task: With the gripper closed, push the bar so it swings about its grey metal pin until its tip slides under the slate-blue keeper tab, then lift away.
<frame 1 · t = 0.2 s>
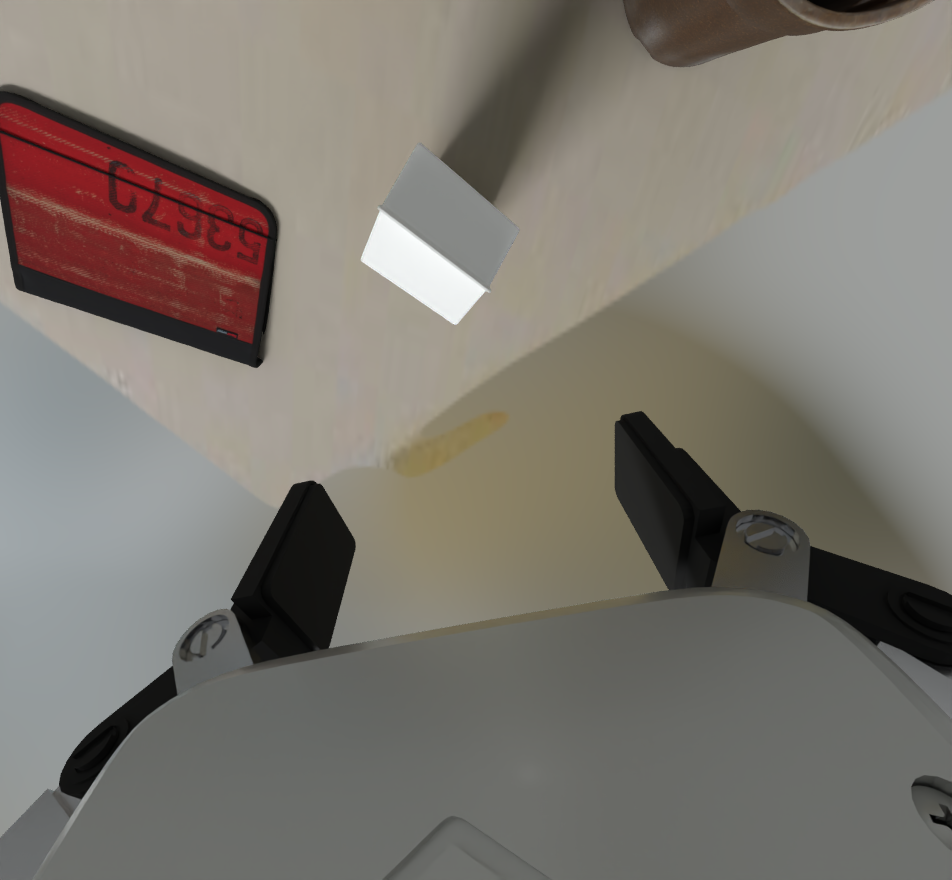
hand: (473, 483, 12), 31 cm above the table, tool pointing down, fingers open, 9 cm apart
milk: (444, 222, 34), on the table
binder: (156, 248, 35), on the table
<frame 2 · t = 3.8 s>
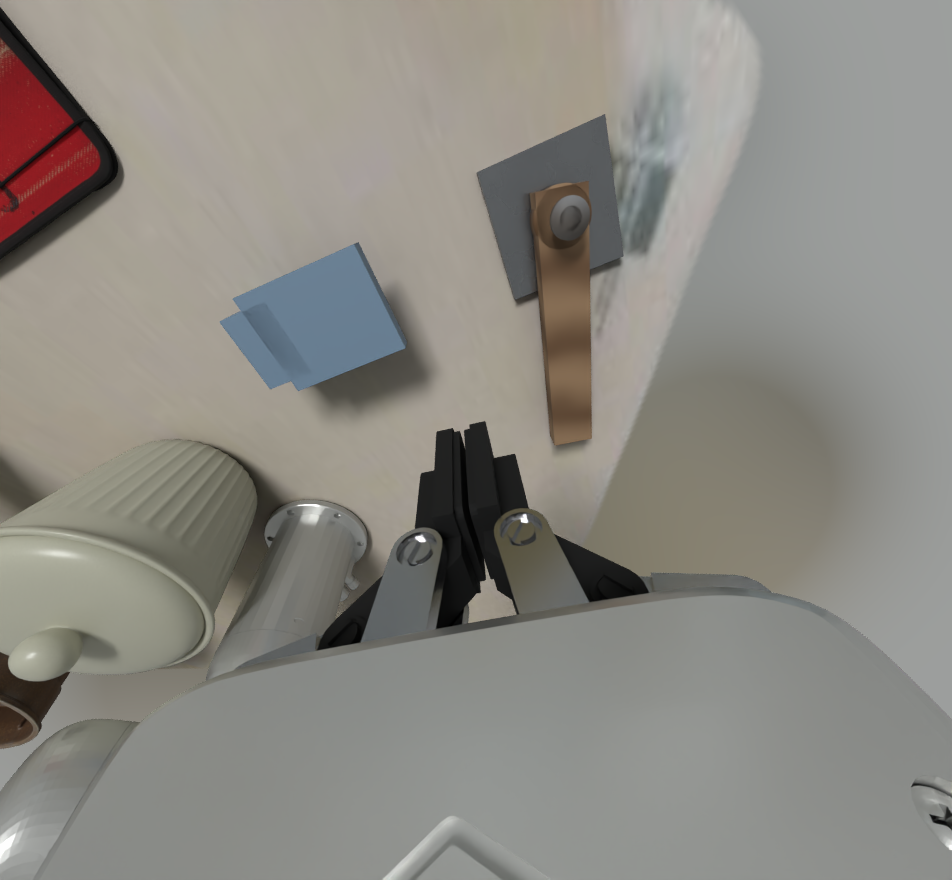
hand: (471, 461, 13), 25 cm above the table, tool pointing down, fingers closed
latch bar: (568, 336, 33), point 3 cm above the table, hinge at 80.0°
plant pot: (74, 579, 50), on the table
keeper: (293, 327, 34), on the table
pintle base: (552, 216, 31), on the table
canister: (202, 479, 43), on the table
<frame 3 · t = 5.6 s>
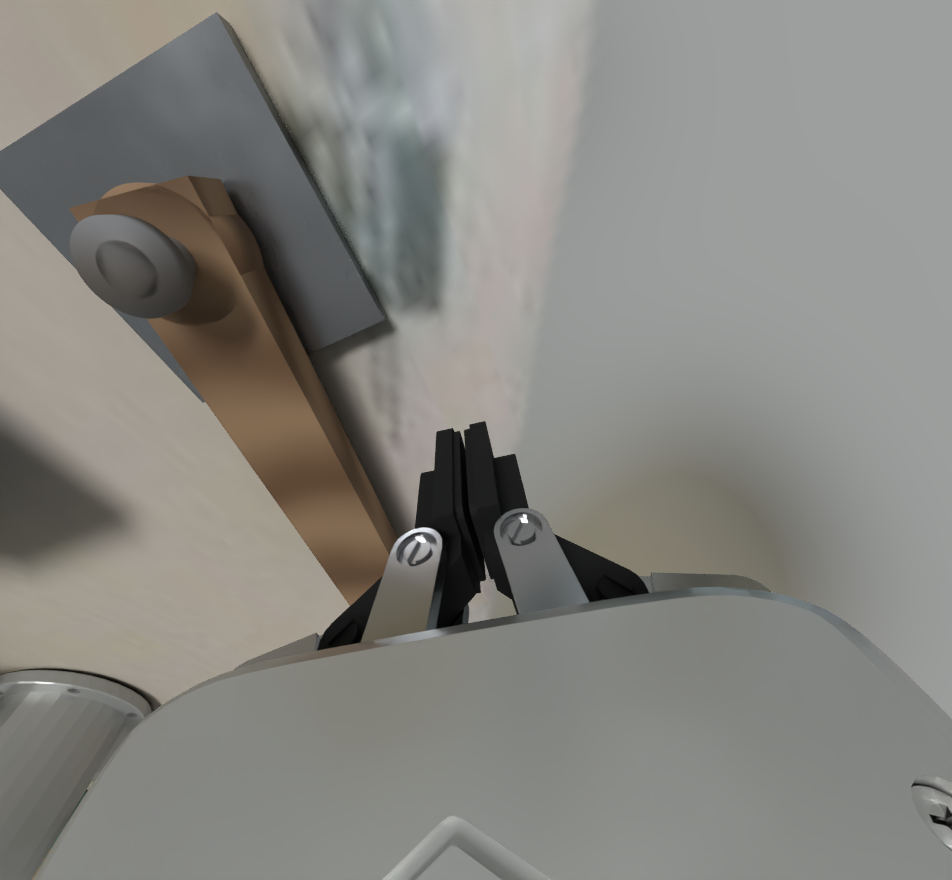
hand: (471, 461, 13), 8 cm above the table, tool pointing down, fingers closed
latch bar: (301, 470, 18), point 3 cm above the table, hinge at 80.0°
pintle base: (218, 250, 15), on the table
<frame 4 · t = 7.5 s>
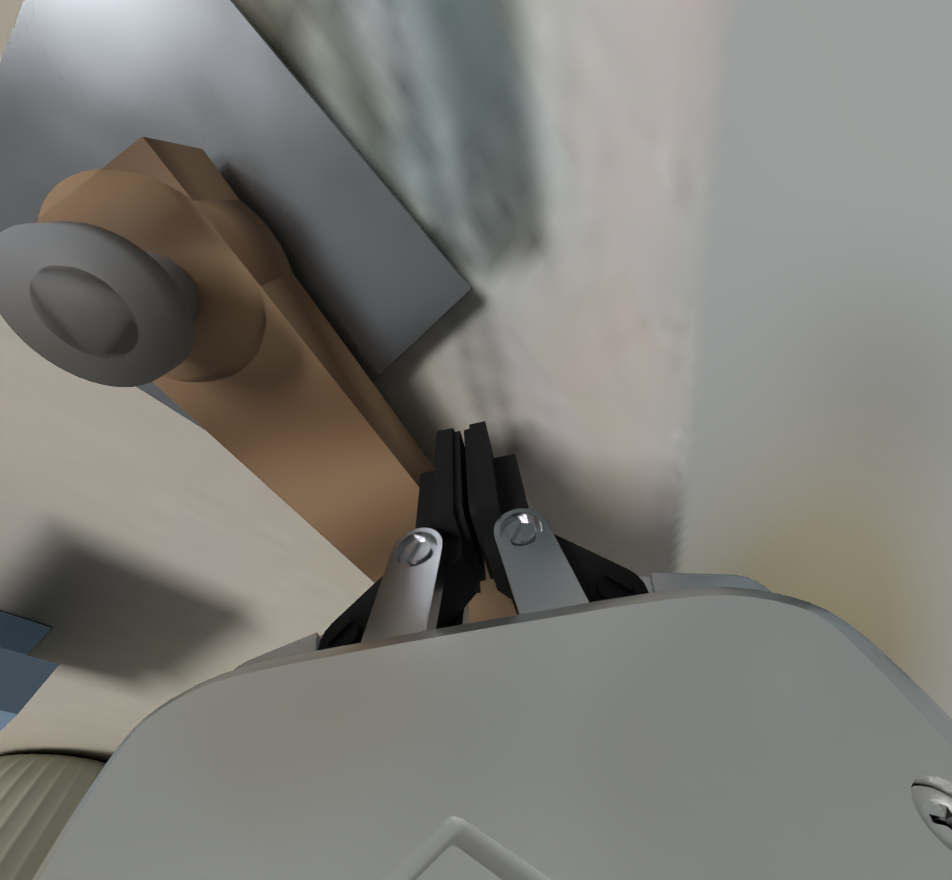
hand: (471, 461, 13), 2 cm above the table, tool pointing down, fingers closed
latch bar: (395, 538, 13), point 3 cm above the table, hinge at 75.4°, touching gripper
pintle base: (231, 268, 11), on the table
canister: (66, 771, 30), on the table
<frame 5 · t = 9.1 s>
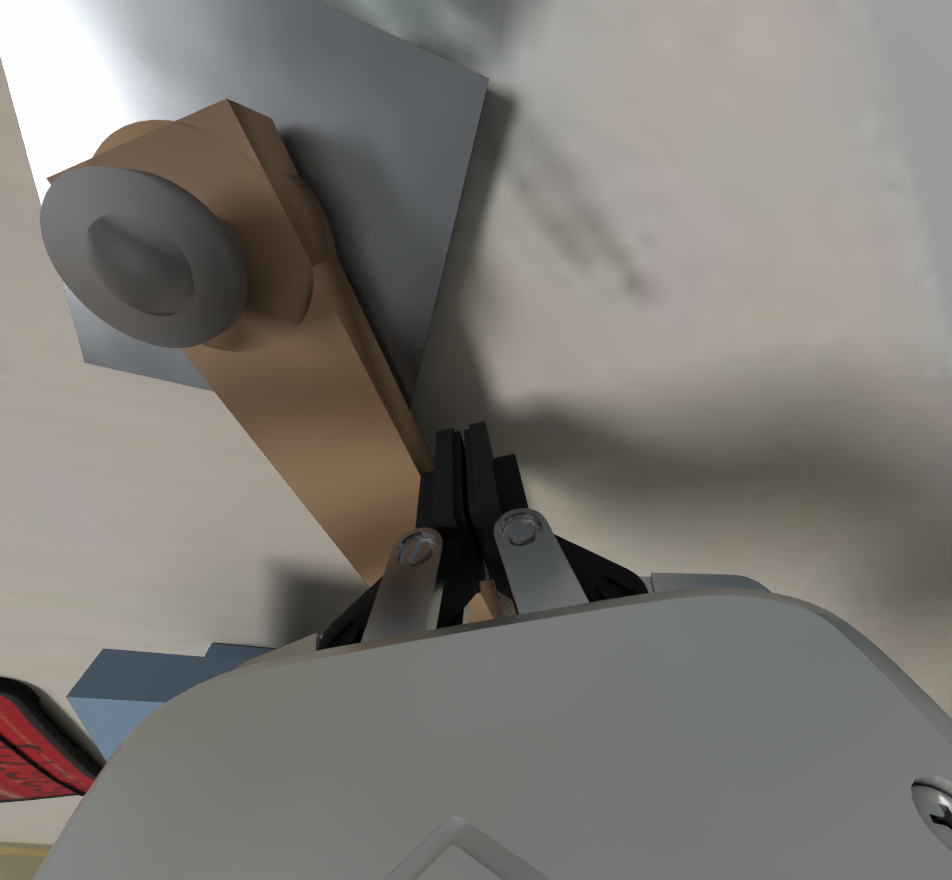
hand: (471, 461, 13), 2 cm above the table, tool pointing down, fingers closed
latch bar: (390, 532, 13), point 3 cm above the table, hinge at 34.4°, touching gripper
keeper: (265, 664, 23), on the table
pintle base: (268, 239, 11), on the table
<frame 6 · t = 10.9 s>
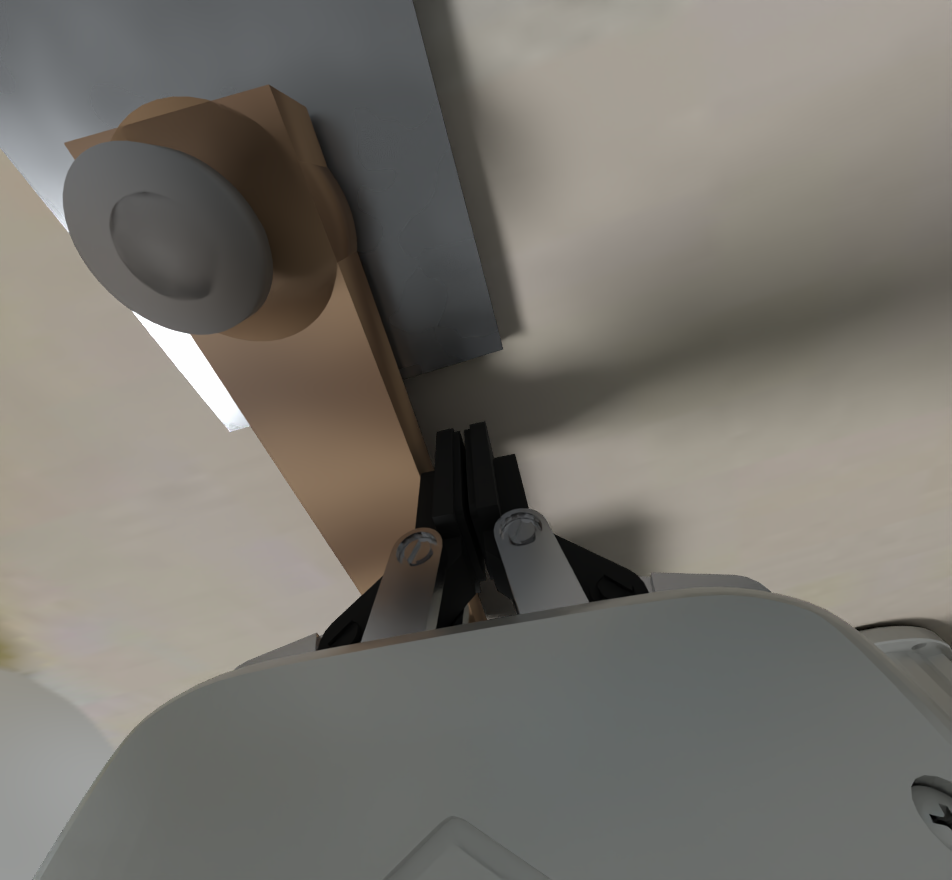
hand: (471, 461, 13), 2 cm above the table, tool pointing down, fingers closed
latch bar: (383, 533, 13), point 3 cm above the table, hinge at -4.5°, touching gripper
pintle base: (285, 227, 10), on the table
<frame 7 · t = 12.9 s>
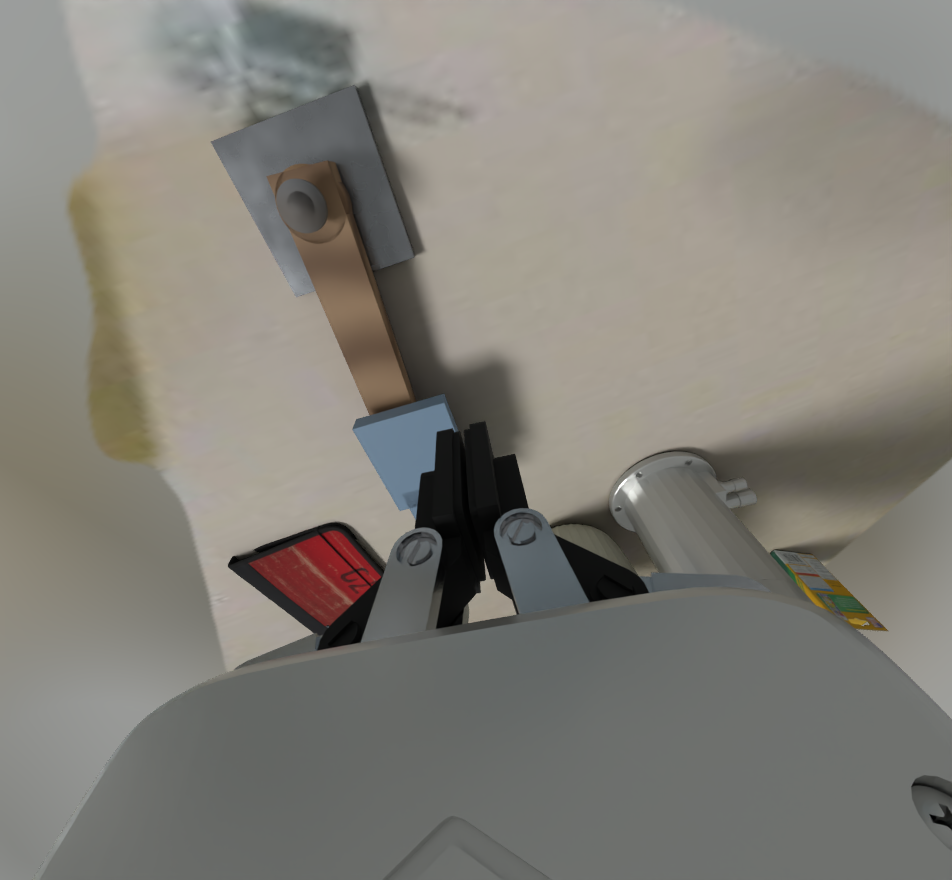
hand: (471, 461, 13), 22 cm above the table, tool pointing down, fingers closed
latch bar: (364, 342, 29), point 3 cm above the table, hinge at -4.5°
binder: (334, 578, 52), on the table
keeper: (439, 462, 40), on the table
pintle base: (324, 204, 26), on the table
canister: (562, 549, 51), on the table
crayon box: (785, 556, 55), on the table
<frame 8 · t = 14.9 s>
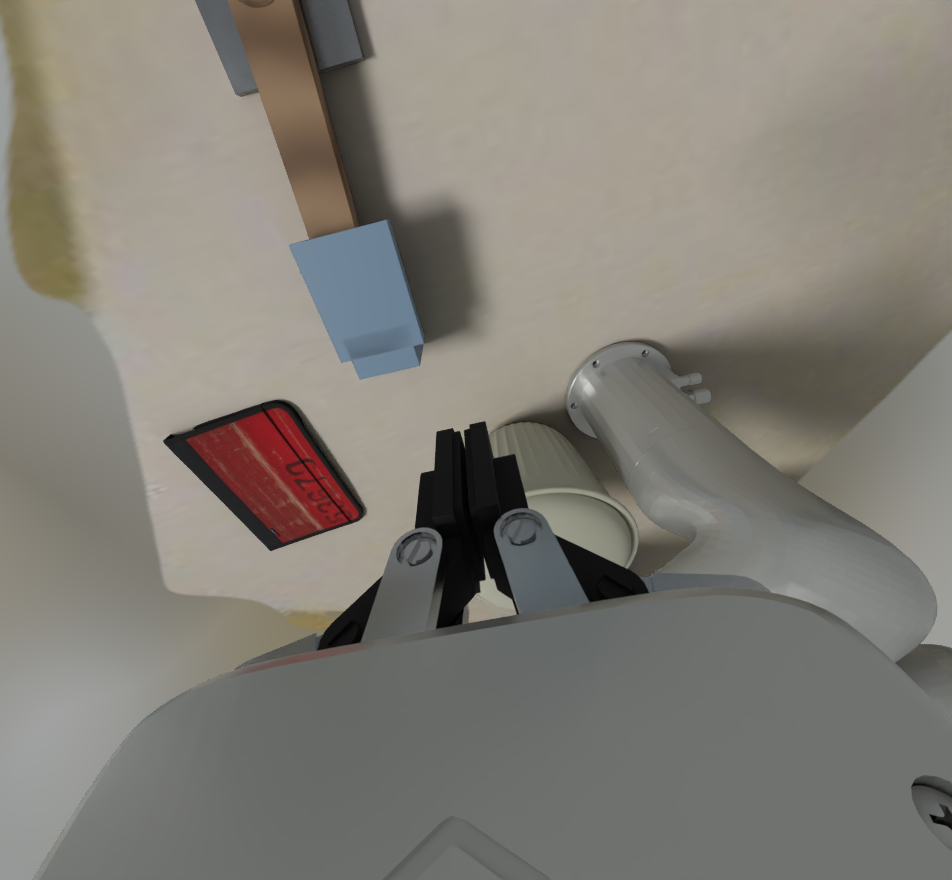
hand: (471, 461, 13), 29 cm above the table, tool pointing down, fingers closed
latch bar: (306, 148, 28), point 3 cm above the table, hinge at -4.5°
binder: (280, 475, 50), on the table
keeper: (390, 332, 39), on the table
canister: (519, 457, 49), on the table
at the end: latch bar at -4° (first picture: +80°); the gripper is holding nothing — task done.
